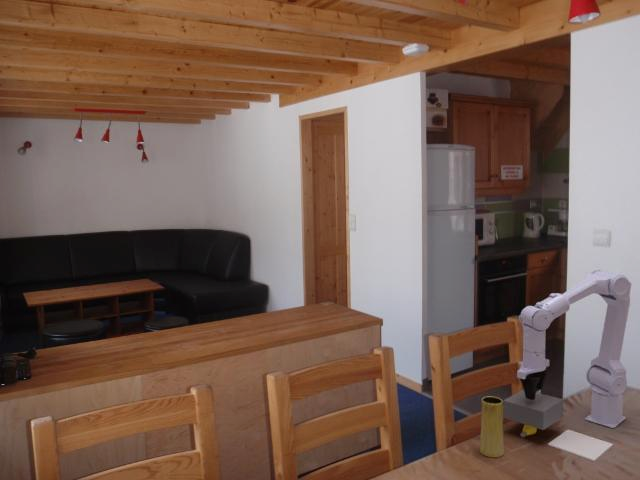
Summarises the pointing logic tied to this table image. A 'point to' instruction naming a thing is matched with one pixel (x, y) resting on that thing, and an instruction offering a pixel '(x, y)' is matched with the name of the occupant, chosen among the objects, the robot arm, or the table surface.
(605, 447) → the mat
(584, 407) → the table surface
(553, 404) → the cover
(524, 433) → the light bulb
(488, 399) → the vase
